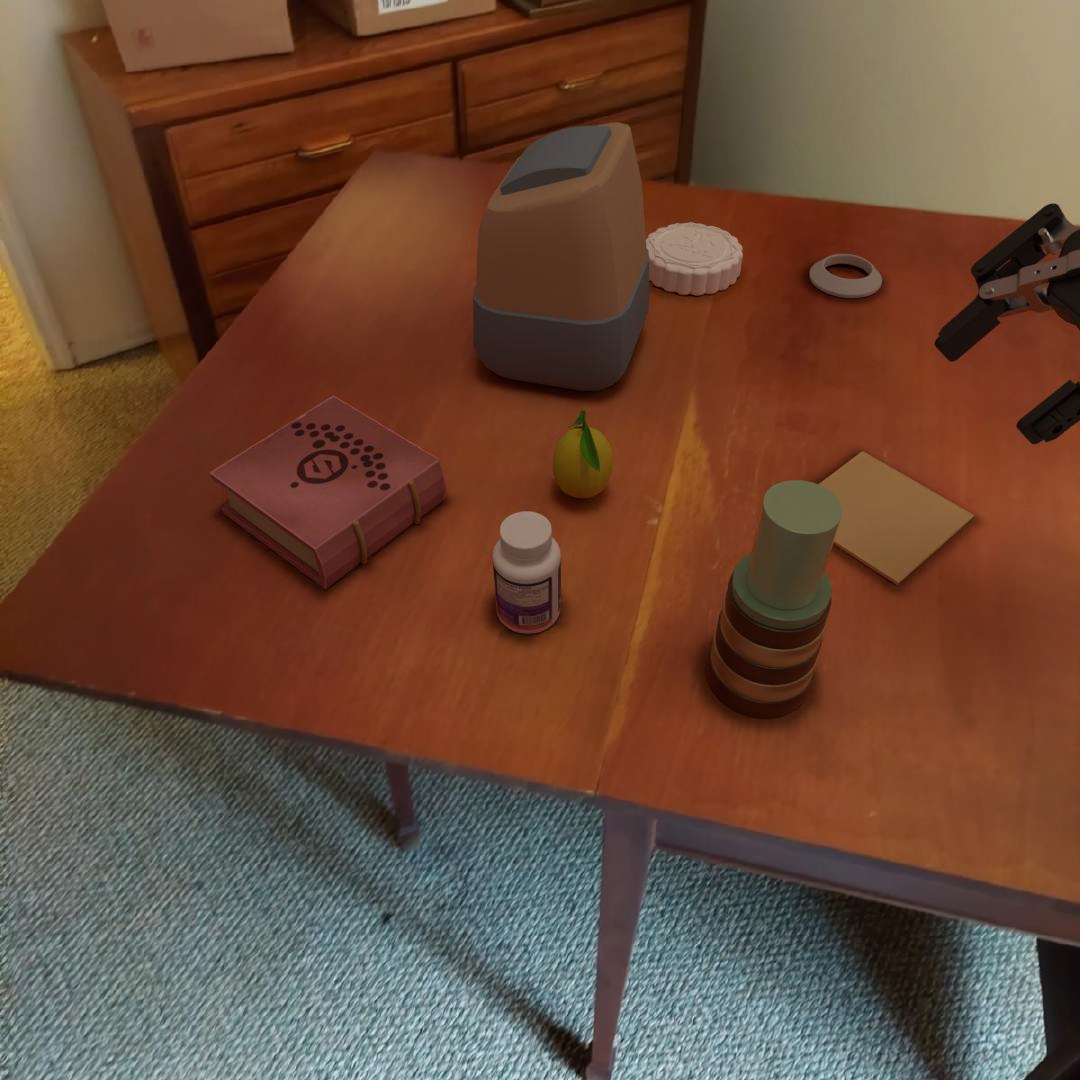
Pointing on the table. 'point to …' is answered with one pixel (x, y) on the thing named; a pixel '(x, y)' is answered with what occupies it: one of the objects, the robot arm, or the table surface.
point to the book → (330, 489)
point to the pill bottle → (527, 573)
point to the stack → (762, 662)
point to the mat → (890, 517)
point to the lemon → (582, 460)
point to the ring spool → (789, 557)
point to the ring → (842, 285)
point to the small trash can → (564, 262)
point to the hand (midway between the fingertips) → (981, 392)
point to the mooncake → (693, 258)
